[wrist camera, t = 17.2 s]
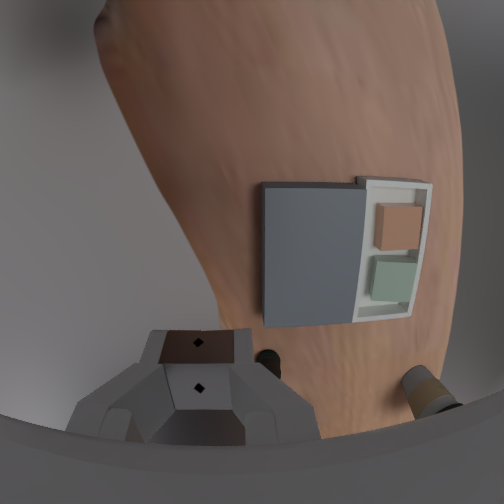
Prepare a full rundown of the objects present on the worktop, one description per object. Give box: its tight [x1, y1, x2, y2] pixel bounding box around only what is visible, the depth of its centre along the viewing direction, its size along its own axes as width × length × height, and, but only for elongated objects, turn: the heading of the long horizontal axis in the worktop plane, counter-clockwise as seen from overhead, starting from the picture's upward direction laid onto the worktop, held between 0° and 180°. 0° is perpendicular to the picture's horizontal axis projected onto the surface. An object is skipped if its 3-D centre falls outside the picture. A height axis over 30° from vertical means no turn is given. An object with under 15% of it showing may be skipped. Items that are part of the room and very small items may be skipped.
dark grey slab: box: [262, 182, 367, 328], centre depth 41 cm, size 18×12×5 cm, turn 1°
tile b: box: [369, 255, 418, 302], centre depth 43 cm, size 6×6×2 cm
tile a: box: [374, 203, 423, 251], centre depth 41 cm, size 6×6×2 cm
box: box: [352, 176, 433, 323], centre depth 42 cm, size 20×10×4 cm, turn 1°
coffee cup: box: [402, 365, 463, 420], centre depth 47 cm, size 9×9×15 cm
